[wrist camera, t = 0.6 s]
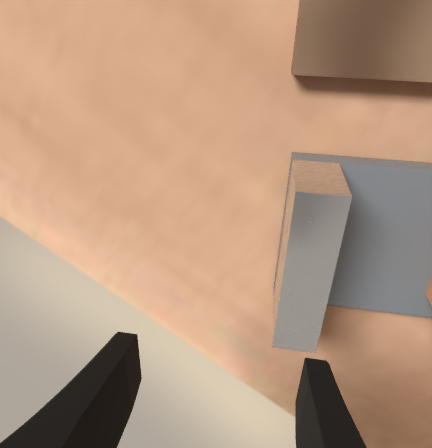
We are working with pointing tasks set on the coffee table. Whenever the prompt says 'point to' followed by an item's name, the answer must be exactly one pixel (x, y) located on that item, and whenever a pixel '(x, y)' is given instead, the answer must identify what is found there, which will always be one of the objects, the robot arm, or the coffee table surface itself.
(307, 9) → the broken strip
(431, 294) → the cube
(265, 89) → the coffee table surface
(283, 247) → the grey tray
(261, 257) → the coffee table surface
